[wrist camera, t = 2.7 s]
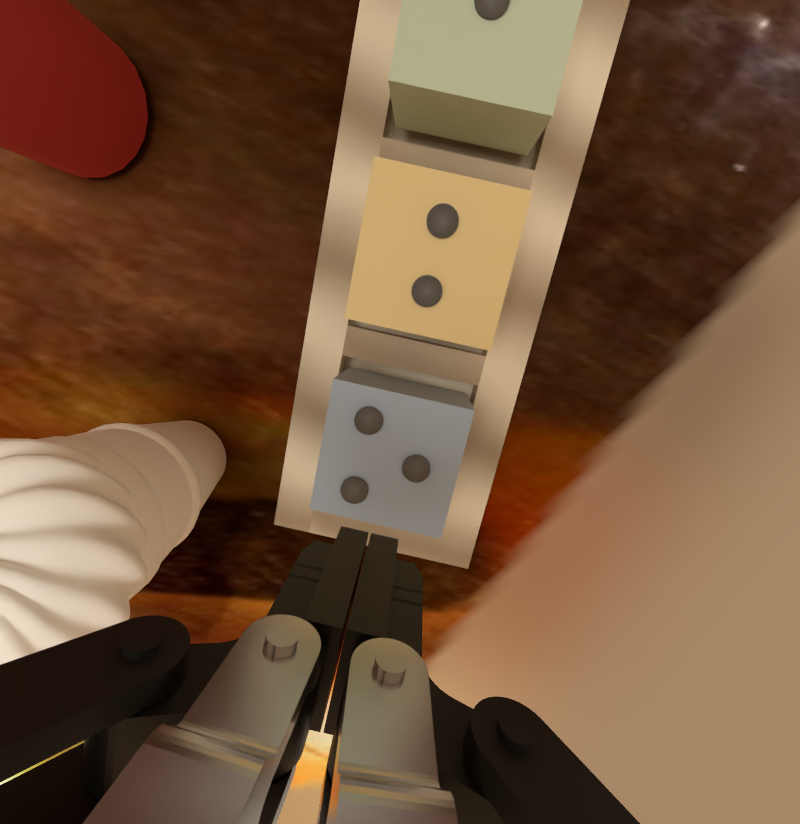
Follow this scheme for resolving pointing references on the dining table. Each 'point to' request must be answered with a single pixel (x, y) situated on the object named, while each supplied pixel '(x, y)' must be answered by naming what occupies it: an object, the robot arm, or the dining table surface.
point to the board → (415, 354)
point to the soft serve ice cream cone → (93, 523)
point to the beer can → (67, 90)
